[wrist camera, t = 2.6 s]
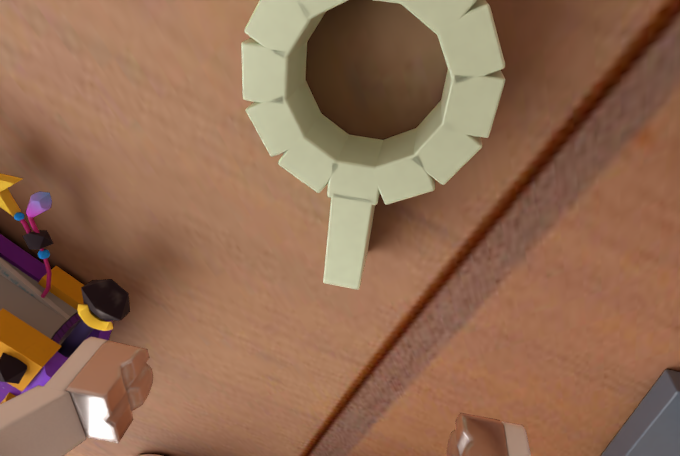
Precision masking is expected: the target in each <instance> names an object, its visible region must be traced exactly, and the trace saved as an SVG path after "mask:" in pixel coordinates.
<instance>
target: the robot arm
mask: <svg viewBox="0 0 680 456" xmlns="http://www.w3.org/2000/svg"><path fill="white" fill-rule="evenodd" d="M148 359H149V354H148V350H147V349H145V348H140V347H136V346H131V345H127V344H123V343H118V342H114V341H110V340H105V339H100V338H96V337H89V338H88V339H86V340H84V341H83V342H82V343H81V344H80V346H79V347H78V348H77V349H76V350H75V351H74V352H73V354H72V355H71V356H70V357H69V358H68V359H67V360H66V362H65V363H64V364H63V365H62V366H61V367H60V368H59V369H58V371H57V372H56V373H55V374H54V375H53V376H52V377H51V379H50V380H49V381H48V382H47V383H46V384H45V385H44V386H39V385H38V386H36V387H34V388H32V389H30V390H28V391H26V392H24V393H22V394H20V395H18V396H16V397H14V398H12V399H10V400H8V401H6V402H4V403H2V404H0V456H64V455H65V454H67V453H68V452H69V451H71V450H72V449H74V448H75V447H76V446H78V445H79V444H80V443H82V442H83V441H85V440H86V437H89V438H94V439H99V440H104V441H109V442H114V443H119V441H120V440H121V438H122V437H123V435H124V433H125V432H126V430H127V429H128V427H129V425H130V424H131V422H132V421H133V414H132V411H133V410H135V409H136V408H138V407H140V406H141V405H143V403H144V401H145V400H146V398H147V396H148V395H149V392H150V389H151V386H152V383H153V372H152V369H151V368H150V367H149V365H148V364H147V363H146V362H147V361H148ZM447 456H531V453H530V448H529V443H528V438H527V433H526V430H525V428H524V426H522V425H519V424H513V423H508V422H503V421H500V420H496V419H491V418H486V417H480V416H475V415H470V414H464V413H460V414H459V415H458V417H457V419H456V430H454V431H452V432H451V435H450V438H449V441H448V447H447Z"/></svg>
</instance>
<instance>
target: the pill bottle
mask: <svg viewBox="0 0 680 456" xmlns="http://www.w3.org/2000/svg"><path fill="white" fill-rule="evenodd" d="M139 456H162V455H156V454H144V455H139Z"/></svg>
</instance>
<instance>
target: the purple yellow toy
mask: <svg viewBox="0 0 680 456" xmlns="http://www.w3.org/2000/svg"><path fill="white" fill-rule="evenodd" d="M22 179H23V178H18V177H14V176H10V175H5V174H1V173H0V207H1V208H2V209H4V210H5V211H6V212H8V213H9V214H10V215H12V216H14V219H15V220H18V221H20V222H21V223H22V225H23V226H24V229H25V231H26V233H27V234H26V235H24V236H23V238H24V240H25V242H26V244H27V246H28V248H29V249H35V250H39V249H40V251H39V252H38V256H39V258H40V259H43V260H44V264H43V263H42V262H40V261H39V260H37V259H36V258H34V257H33V256H32V255H30V254H29V253H27V252H26V251H24V250H23V249H21V248H20V247H19V246H17V245H16V244H14V243H13V242H11V241H10V240H8V239H7V238H5V237H4V236H3V235H1V234H0V404H2V403H4V402H6V401H8V400H10V399H12V398H14V397H16V396H18V395H20V394H22V393H24V392H26V391H28V390H30V389H32V388H34V387H36V386H38V385H39V386H44V385H45V384H46V383H47V382H48V381H49V380H50V379H51V377H52V376H53V375H54V374H55V373H56V372H57V371H58V369H59V368H60V367H61V366H62V365H63V364H64V363H65V362H66V360H67V359H68V358H69V357H70V356H71V355H72V354H73V352H74V351H75V350H76V349H77V348H78V347H79V346H80V344H81V343H82V342H83V341H84V340H86V339H88V338H89V337H96V338H100V339H105V340H109V337H110V334H111V331H112V329H113V324H112V320H122V319H123V318H124V317H125V316H126V315H127V314H128V313H129V312H130V307H129V296H128V293H127V292H126V291H125V290H124V289H122V288H121V287H120V286H119V285H118V284H116V283H115V282H114V281H113V280H112V279H107V280H92V281H91V282H89V283H88V284H86V285H83V284H82V283H80V282H79V281H78V280H76V279H75V278H73V277H72V276H70V275H69V274H68V273H66V272H65V271H63V270H62V269H60V268H59V267H57V266H55V267H54V268H53V269H50V265H49V261H48V257H49V256H50V253H49V251H48V250H47V249H44V247H47V246H49V245H51V244H53V241H52V239H51V237H50V236H49V234H48V232H47V230H38V228H37V226H36V224H35V221H34V218H33V217H35V216H37V215H39V214H41V213H43V212H44V211H46V210H48V209H50V208H51V205H52V200H51V196H50V193H48V192H37V193H34V194H33V195H31V198H30V201H29V204H28V207H27V210H26V215H27V216H28V219H29V223H30V225H31V227H32V229H33V232H31V229H30V227H29V225H28V223H27V222H26V221H25V219H24V217H25V216H24V214H23V213H21V210H20V208H19V207H18V205H17V203H16V202H15V200H14V198H13V197H12V195H11V193H10V192H9V190H8V187H10V186H12V185H13V184H15V183H17V182H18V181H20V180H22Z"/></svg>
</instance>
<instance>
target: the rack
mask: <svg viewBox="0 0 680 456" xmlns="http://www.w3.org/2000/svg"><path fill="white" fill-rule="evenodd" d="M601 456H680V372H678V371H673V370H668V369H667V370H665V371H664V372H663V374H662V375H661V376H660V378H659V379H658V380H657V382H656V383H655V384H654V386H653V387H652V388H651V390H650V391H649V392H648V394H647V395H646V396H645V397H644V399H643V400H642V401H641V403H640V404H639V405H638V407H637V408H636V409H635V411H634V412H633V413H632V415H631V416H630V417H629V419H628V420H627V421H626V423H625V424H624V425H623V427H622V428H621V429H620V431H619V432H618V433H617V435H616V436H615V437H614V439H613V440H612V441H611V443H610V444H609V445H608V447H607V448H606V449H605V451H604V452H603V453H602V455H601Z"/></svg>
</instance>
